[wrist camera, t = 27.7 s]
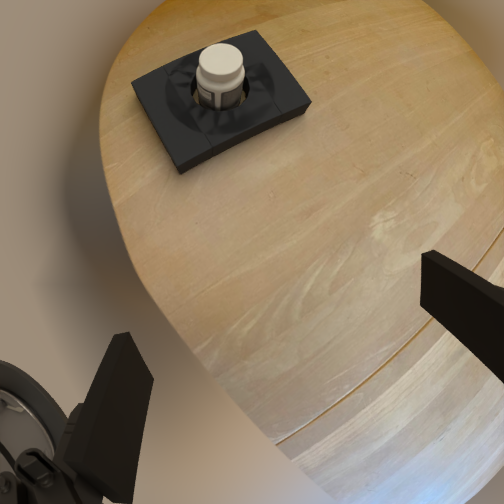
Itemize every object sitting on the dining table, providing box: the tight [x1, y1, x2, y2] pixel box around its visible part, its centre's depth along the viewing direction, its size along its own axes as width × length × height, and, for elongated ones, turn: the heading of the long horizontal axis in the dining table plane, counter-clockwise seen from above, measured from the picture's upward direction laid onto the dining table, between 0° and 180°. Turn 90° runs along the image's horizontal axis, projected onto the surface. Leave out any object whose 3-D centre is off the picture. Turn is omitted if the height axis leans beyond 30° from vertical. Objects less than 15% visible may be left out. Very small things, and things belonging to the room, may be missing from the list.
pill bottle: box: [196, 43, 245, 112], centre depth 27 cm, size 5×5×8 cm
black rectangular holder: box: [131, 30, 312, 174], centre depth 30 cm, size 16×12×3 cm
